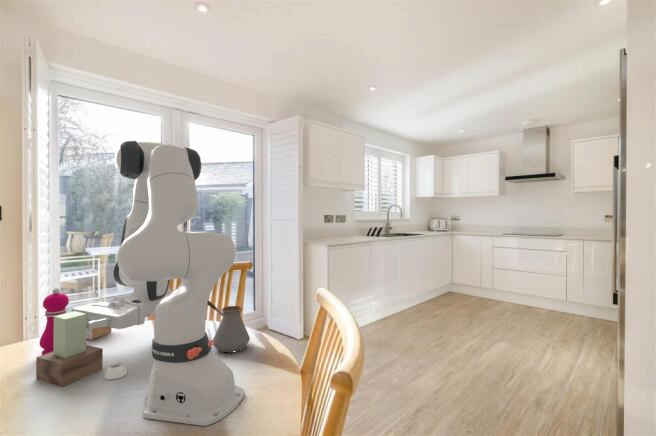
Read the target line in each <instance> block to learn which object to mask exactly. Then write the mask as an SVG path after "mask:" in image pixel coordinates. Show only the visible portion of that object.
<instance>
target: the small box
mask: <svg viewBox="0 0 656 436" xmlns="http://www.w3.org/2000/svg"><path fill="white" fill-rule="evenodd" d="M97 303H104V304H109V303H110V302H105V301H102V302H101V301H98V302H97ZM86 326H87V325H86ZM110 333H112V328H110V327H100V328H94V329H87V328H86V340H94V339H97V338H99V337H102V336H104V335H107V334H110Z"/></svg>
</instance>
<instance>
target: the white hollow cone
mask: <svg viewBox="0 0 656 436" xmlns="http://www.w3.org/2000/svg"><path fill="white" fill-rule="evenodd" d="M127 373H128V370H127V368H126V367H125V365H124V364H123V362H114V363H111V364H110V365H109V366H108V368H107V370H106V371H105V374H104V375H103V377H104V379H105V380H110V381H111V380H113V381H114V380H118V379H120V378H123V377H124V376H126V375H127Z"/></svg>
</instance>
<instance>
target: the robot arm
mask: <svg viewBox="0 0 656 436" xmlns="http://www.w3.org/2000/svg"><path fill="white" fill-rule="evenodd" d="M201 160H202V159H201V156H200V154H199V153H198V151H197V150H195V149H192V148H189V147H187V146H185V147H181V146H177V145H173V144H165V143H162V142H154V141H153V142H152V141H150V142H149V141H137V140H126V141H122V142H121V143H119V145H118V147H117V150H116V152H115V154H114V164H115V167H116V169H117V170H118V173H119V174H120V175H121V176H122V177H124V178H125V179H126V178H127V179H130V180H135V181H134V186H133V193H132V195H133V196H132V206H131V211H130V213H128V214H127V215H126V218H125V220H124V224H123V227H122V228H123V230H122V235H121V241H120V247H119V248H118V251H117V256H116V263H115V265H114V268H113V279H114V280H115V282H116V283H117V284H119V285H121V286H124V287H127V288H132V289H134V290H133V292H130V293H127V294H123V295H117V296H115V297H114V298H113V297H112V299H111V300H110V302H108V303H109V304H104V303H98V302H93V303H92V302H91V303H88V304H82V305H77V306H74V307H73V308H72V309H71V312H74V311H76V312H81V313H85V314H86V325H87V326H86V328H87V329H94V328H100V327H110V328H111V329H114V330H115V329H116V330H123V329H127V328H131V327H134V326H142V325H144V324H145V319H146V318H148V317H150V316H154V332H153V333H154V336H153V337H154V338H153V339H152V340H151V348H150V349H151V356H152V358H153V360H152V367H151V370H150V376H149V382H148V391H147V394H146V397H145V401H144V406H145V407H144V410H143V413H142V416H143V418H144V419H151V420H157V421H166V422H172V423H181V424H187V425H194V426H200V427H204V426H205V427H206V426H210V425H212V424H215V423H216V422H219V421H221V420H222V419H224V418H226V417H227V416H228V415H229V414H231V413H232V412H233V411H234V410H235V409H236V408H237V407H238V406H240V404H241V403H242V401H243V400H244V398H245V389H244V388H242V387H240V386H238V385H236V384H235V378H234V377H235V376H234V373H233V370H232V369H231V368H230V367H229V366H228V365H227V364H226V363H225V362H224V361H223V360H221V358H220V357H219V356H218V355H217V354H216V353H214V351H213V350H212V346H214V345H213V344H215V343H213V341H214V340H215V339H214V338H213V339H212V340H210V339H209V336H208V333H207V331H206V320H207V309H208V305H207V303H208V301H209V298H210V295H211V293H212V291H213V290H214V287H215V285H216V284H217V282H218V281H219V280H220V278H221V277H222V276H223V275H224V274H226V272H228V271H229V270H230V269H231V267H232V266H233V265H234V263H235V261H236V256H237V251H236V245H235V243H234V241H233V240H232V238H231V236H229V235H228V234H225V233H220V232H215V231H181V230H179V228H178V226H179V225H182V224H184V223H186V222H189V221H190V220H192V219H193V218H194V217H195V216H196V214H197V213H198V210H199V198H198V193H197V187H196V182H195V181H196V180H197V179H199V177H200V175H201V171H202V161H201ZM178 279H179V280H180V279H181V282H180V284H179V285H178V287H176V289H175V290H174V291H172V290H171V288H170V281H171V280H178ZM243 397H244V398H243ZM242 399H243V400H242ZM241 400H242V401H241ZM240 402H241V403H240ZM239 403H240V404H239ZM231 411H232V412H231Z"/></svg>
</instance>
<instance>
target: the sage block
mask: <svg viewBox="0 0 656 436" xmlns="http://www.w3.org/2000/svg"><path fill="white" fill-rule="evenodd" d="M86 345H87V339H86V314H85V313H81V312H76V311H74V312H72V311H69V312H67V313H66V314H61V315H57V316H54V345H53V354H54V355H56V356H59V357H62V358H67V357H70V356H73V355H76V354H79V353H81V352H84V351H86Z"/></svg>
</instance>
